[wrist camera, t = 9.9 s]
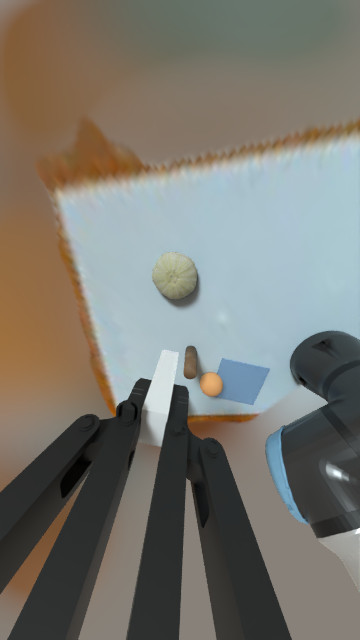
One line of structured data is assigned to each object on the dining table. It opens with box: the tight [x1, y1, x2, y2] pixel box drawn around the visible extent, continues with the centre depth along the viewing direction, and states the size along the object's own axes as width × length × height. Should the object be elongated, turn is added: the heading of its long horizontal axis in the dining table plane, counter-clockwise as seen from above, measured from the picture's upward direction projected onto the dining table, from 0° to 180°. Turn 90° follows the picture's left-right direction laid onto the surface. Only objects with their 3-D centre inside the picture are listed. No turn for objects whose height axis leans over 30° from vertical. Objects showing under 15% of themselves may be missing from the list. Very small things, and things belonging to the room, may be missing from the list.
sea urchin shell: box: [152, 252, 197, 299], centre depth 35 cm, size 9×8×8 cm
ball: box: [200, 372, 223, 396], centre depth 42 cm, size 6×6×6 cm
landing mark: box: [214, 359, 270, 405], centre depth 45 cm, size 12×12×1 cm
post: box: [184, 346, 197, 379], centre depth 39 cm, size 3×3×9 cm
